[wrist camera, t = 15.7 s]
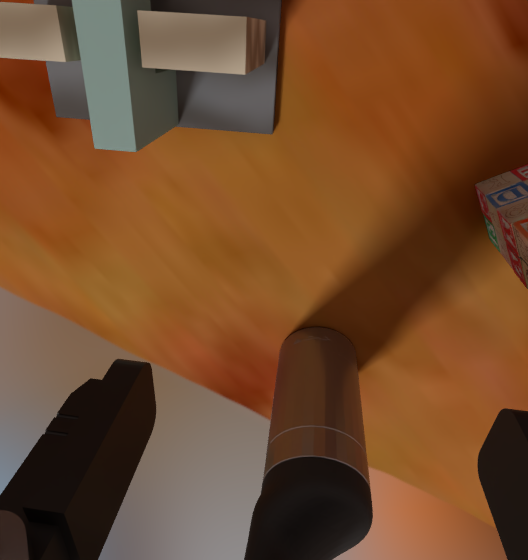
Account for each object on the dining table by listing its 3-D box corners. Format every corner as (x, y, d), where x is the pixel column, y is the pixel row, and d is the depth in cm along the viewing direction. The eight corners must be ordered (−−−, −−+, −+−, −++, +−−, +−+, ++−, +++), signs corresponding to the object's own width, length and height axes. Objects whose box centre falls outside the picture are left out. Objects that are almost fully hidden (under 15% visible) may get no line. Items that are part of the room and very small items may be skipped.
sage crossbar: (178, 124, 37) (136, 152, 29) (146, 121, 38) (94, 148, 29) (168, -79, 30) (107, -122, 22) (128, -81, 30) (52, -124, 22)
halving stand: (273, 131, 38) (257, 165, 28) (62, 114, 39) (-20, 141, 30) (285, -67, 30) (269, -111, 21) (25, -79, 32) (-98, -125, 22)
